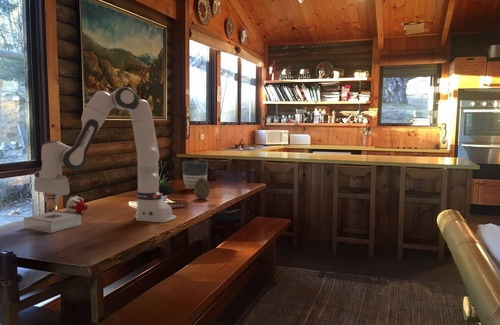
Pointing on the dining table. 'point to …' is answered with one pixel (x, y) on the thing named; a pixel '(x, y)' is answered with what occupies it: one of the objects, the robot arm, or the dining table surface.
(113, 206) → the dining table surface
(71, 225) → the bore block
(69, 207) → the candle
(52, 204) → the small beige jar
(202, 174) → the planter
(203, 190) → the decorative egg
